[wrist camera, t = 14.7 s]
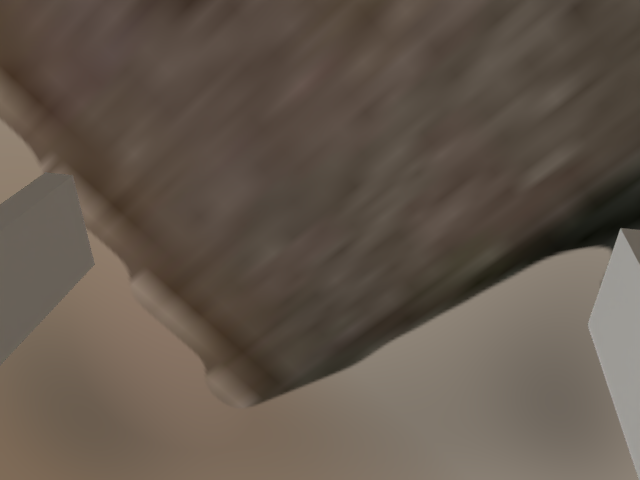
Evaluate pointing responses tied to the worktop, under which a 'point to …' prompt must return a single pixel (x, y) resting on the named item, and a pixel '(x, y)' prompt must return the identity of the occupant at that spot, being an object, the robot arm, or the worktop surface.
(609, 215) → the worktop surface
